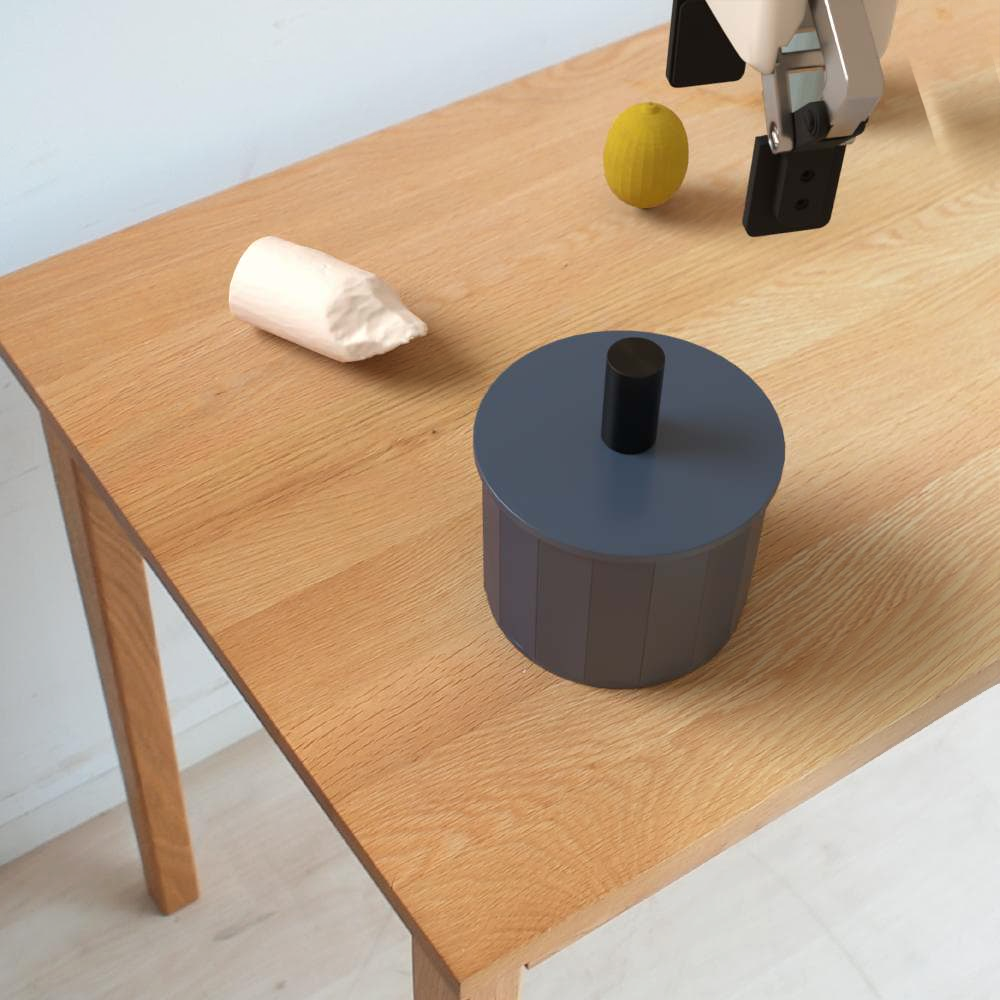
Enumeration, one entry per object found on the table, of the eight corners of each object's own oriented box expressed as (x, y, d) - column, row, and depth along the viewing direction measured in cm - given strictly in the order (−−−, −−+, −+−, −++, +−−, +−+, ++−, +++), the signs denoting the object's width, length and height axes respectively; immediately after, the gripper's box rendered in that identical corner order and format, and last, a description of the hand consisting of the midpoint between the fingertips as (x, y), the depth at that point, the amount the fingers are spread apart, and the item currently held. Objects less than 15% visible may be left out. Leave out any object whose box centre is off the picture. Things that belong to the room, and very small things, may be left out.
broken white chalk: (397, 410, 84) (391, 339, 80) (233, 338, 88) (220, 267, 84) (451, 350, 88) (449, 278, 83) (292, 283, 92) (282, 212, 88)
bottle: (865, 132, 103) (909, -70, 91) (766, 131, 103) (798, -70, 91) (850, 77, 107) (891, -122, 96) (755, 77, 107) (785, -122, 96)
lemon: (698, 218, 96) (711, 115, 90) (625, 241, 94) (633, 138, 88) (656, 173, 99) (666, 71, 93) (585, 195, 98) (590, 92, 92)
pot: (740, 491, 80) (766, 352, 72) (749, 697, 71) (780, 564, 63) (496, 478, 81) (495, 338, 73) (474, 680, 72) (471, 546, 64)
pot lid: (774, 355, 73) (793, 258, 68) (790, 582, 63) (813, 488, 59) (486, 340, 74) (485, 243, 69) (459, 562, 64) (455, 468, 59)
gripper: (1067, -226, 38) (922, 280, 51) (831, -436, 49) (761, 23, 62) (794, -201, 37) (717, 309, 50) (617, -421, 48) (592, 42, 61)
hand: (742, 150), depth 56 cm, fingers open, 9 cm apart
